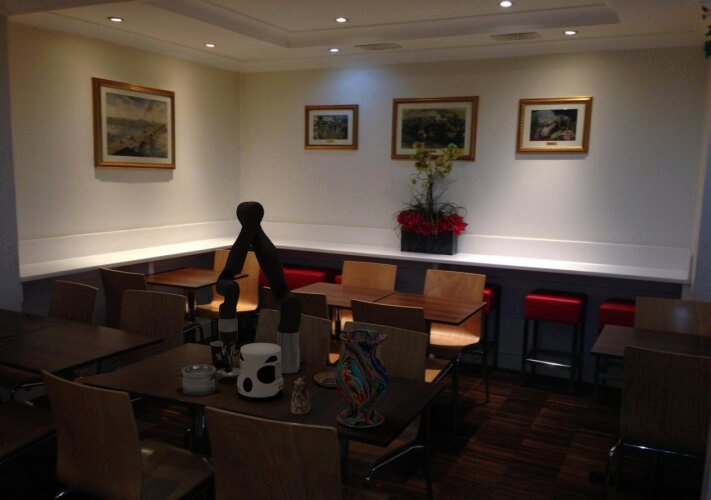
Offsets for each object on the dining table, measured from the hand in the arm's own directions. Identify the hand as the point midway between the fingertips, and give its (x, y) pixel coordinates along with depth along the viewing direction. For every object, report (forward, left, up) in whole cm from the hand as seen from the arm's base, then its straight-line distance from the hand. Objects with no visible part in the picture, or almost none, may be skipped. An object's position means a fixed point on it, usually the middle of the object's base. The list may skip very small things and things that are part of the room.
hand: (228, 370), depth 248 cm
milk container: (-16, +13, -4) cm, 21 cm away
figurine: (-34, +26, -4) cm, 43 cm away
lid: (0, 0, -1) cm, 1 cm away
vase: (-56, +31, -4) cm, 65 cm away
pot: (+8, +13, -4) cm, 16 cm away
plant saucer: (-41, -5, -5) cm, 42 cm away
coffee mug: (+8, -17, -4) cm, 19 cm away
